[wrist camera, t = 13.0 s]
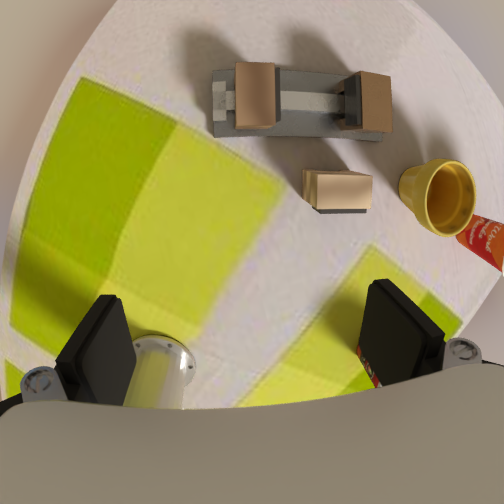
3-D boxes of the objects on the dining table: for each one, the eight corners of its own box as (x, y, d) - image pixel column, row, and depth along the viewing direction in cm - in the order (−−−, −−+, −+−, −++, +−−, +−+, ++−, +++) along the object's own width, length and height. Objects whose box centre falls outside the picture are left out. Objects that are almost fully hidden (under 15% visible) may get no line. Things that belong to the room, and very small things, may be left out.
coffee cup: (472, 198, 42) (532, 220, 28) (482, 232, 45) (536, 260, 31) (445, 225, 43) (505, 255, 29) (457, 258, 46) (510, 293, 32)
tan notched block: (349, 202, 41) (370, 213, 34) (302, 202, 40) (316, 214, 34) (350, 170, 39) (372, 176, 32) (302, 169, 39) (317, 174, 32)
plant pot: (378, 169, 39) (415, 177, 30) (427, 145, 38) (468, 149, 29) (398, 229, 43) (433, 250, 34) (443, 203, 42) (481, 218, 33)
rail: (214, 137, 36) (211, 135, 28) (213, 72, 33) (209, 54, 25) (378, 141, 38) (409, 142, 30) (376, 82, 35) (406, 73, 27)
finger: (234, 129, 35) (236, 125, 28) (234, 77, 32) (235, 62, 26) (271, 128, 35) (281, 125, 29) (270, 77, 33) (280, 63, 26)
